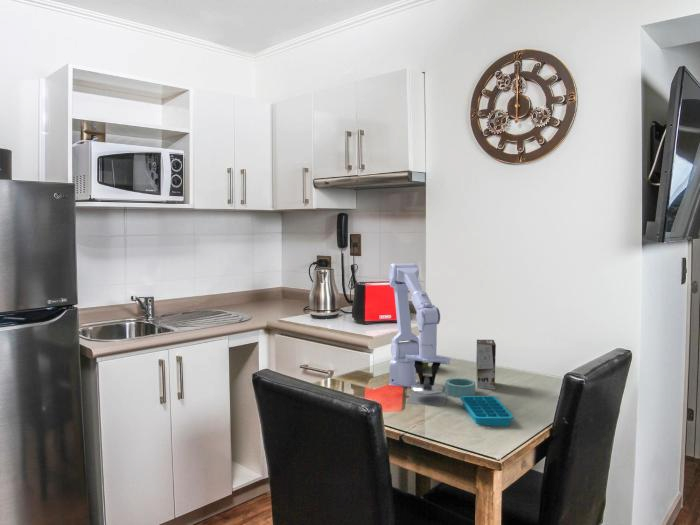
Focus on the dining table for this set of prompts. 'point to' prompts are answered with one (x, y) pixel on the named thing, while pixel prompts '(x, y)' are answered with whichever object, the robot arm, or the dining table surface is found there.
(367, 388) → the dining table surface
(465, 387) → the bowl
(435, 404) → the mat
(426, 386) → the lid
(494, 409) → the ice cube tray
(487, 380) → the coffee box
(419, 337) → the robot arm
